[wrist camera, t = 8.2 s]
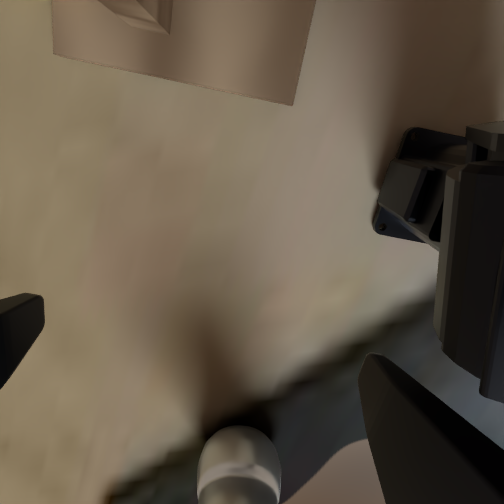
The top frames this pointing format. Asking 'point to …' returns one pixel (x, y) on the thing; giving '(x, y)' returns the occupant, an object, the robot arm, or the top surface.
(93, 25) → the bearing stand
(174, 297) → the top surface
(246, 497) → the plastic bottle
